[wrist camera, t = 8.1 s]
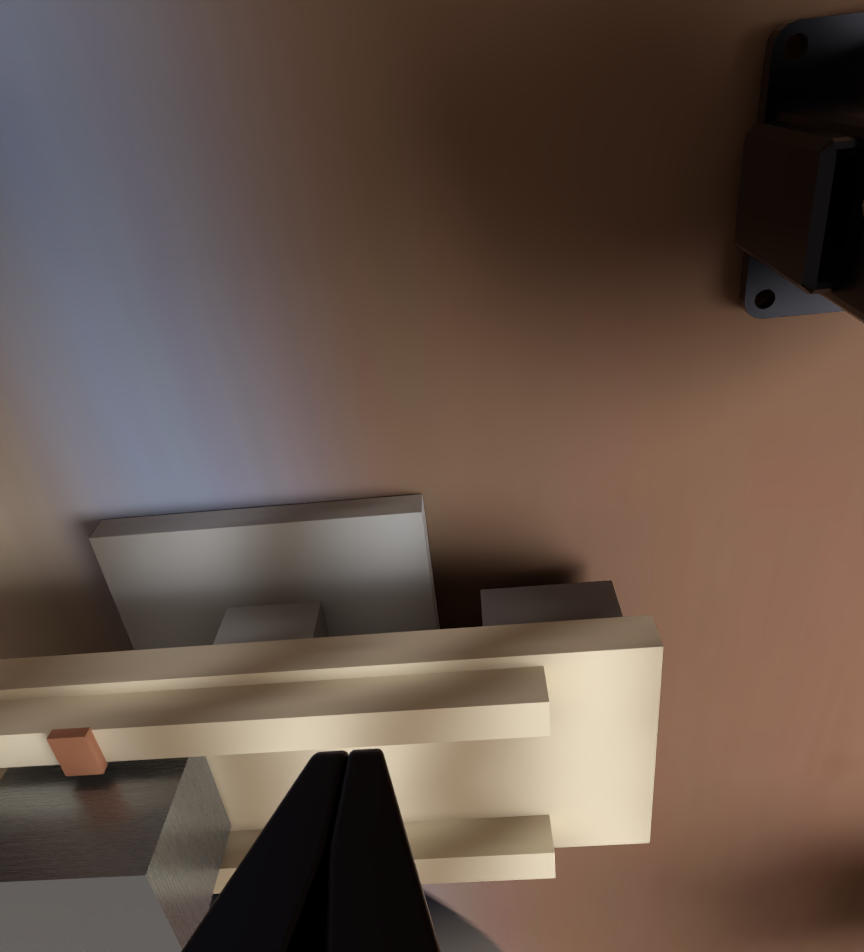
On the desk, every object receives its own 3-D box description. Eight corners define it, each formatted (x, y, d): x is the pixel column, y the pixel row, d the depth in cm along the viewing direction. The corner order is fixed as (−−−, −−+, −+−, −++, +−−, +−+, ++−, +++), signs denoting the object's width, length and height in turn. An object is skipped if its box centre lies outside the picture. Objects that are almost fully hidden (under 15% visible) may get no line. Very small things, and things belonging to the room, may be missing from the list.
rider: (196, 734, 20) (145, 875, 17) (231, 825, 22) (192, 968, 19) (22, 744, 21) (-64, 885, 17) (71, 833, 23) (4, 975, 19)
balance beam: (623, 477, 22) (685, 626, 16) (615, 752, 28) (658, 930, 22) (-82, 534, 23) (-250, 689, 18) (54, 783, 29) (-39, 958, 24)
